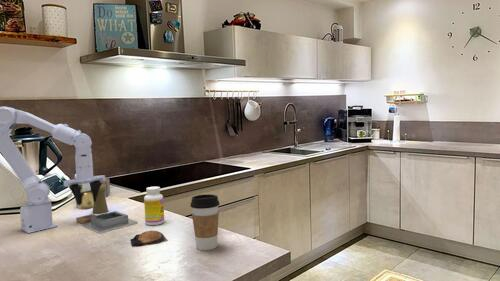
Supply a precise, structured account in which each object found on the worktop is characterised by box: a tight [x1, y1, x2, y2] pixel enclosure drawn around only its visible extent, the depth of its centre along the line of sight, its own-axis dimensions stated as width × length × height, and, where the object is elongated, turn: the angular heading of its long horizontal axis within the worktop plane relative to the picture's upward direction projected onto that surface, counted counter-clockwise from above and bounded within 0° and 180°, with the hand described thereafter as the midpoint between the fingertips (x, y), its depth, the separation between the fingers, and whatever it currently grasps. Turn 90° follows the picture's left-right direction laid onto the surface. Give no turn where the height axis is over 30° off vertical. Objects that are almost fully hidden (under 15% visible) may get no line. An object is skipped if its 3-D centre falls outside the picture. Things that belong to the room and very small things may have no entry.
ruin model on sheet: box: [100, 177, 111, 198], centre depth 182 cm, size 11×3×10 cm, turn 13°
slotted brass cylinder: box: [78, 190, 94, 211], centre depth 137 cm, size 5×5×6 cm
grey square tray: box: [81, 210, 139, 234], centre depth 132 cm, size 14×14×3 cm
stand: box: [75, 213, 97, 225], centre depth 137 cm, size 6×6×2 cm
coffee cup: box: [189, 193, 220, 251], centre depth 106 cm, size 8×8×15 cm
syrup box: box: [74, 173, 91, 209], centre depth 159 cm, size 6×6×14 cm
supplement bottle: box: [143, 186, 165, 226], centre depth 132 cm, size 7×7×13 cm
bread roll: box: [129, 230, 169, 248], centre depth 114 cm, size 11×8×4 cm
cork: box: [92, 185, 109, 215], centre depth 150 cm, size 6×6×11 cm
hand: (86, 202), depth 137 cm, fingers closed on slotted brass cylinder, 5 cm apart
